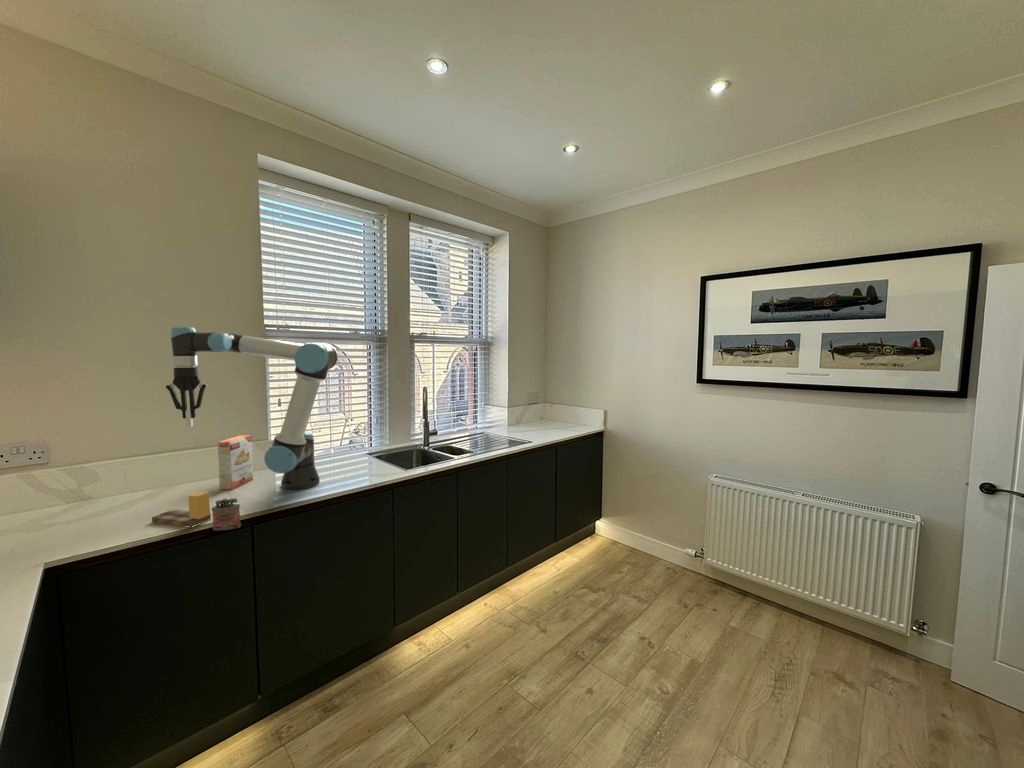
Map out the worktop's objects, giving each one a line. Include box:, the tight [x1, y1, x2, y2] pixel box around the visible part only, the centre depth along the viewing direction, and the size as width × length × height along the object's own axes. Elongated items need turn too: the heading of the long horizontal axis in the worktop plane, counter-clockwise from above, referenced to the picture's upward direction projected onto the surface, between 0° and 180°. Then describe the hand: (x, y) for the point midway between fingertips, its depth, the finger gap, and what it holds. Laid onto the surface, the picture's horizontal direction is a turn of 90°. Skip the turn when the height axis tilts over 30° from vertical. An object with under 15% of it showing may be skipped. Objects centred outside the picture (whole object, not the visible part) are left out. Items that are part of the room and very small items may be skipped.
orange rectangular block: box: [187, 491, 211, 519], centre depth 141 cm, size 4×4×8 cm
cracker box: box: [217, 434, 254, 491], centre depth 180 cm, size 14×6×21 cm, turn 179°
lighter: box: [211, 497, 242, 531], centre depth 137 cm, size 8×3×10 cm, turn 105°
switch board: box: [151, 509, 212, 528], centre depth 143 cm, size 17×7×2 cm, turn 77°
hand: (189, 426), depth 162 cm, fingers closed
